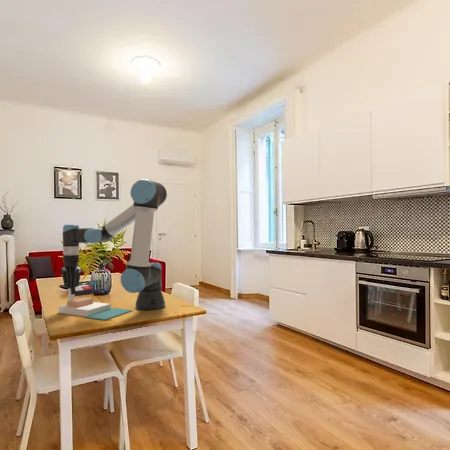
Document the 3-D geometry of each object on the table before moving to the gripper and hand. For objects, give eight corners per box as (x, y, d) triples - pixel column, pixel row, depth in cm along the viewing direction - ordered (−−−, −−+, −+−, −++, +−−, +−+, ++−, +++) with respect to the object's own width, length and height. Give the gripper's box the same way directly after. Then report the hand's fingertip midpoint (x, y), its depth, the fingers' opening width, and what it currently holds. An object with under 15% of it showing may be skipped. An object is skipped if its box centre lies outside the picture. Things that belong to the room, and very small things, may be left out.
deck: (81, 306, 174) (81, 300, 174) (110, 309, 166) (110, 303, 166) (58, 312, 161) (58, 306, 161) (88, 316, 153) (88, 310, 153)
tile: (83, 302, 171) (83, 297, 171) (93, 303, 168) (93, 298, 168) (67, 306, 161) (67, 301, 161) (77, 307, 159) (77, 302, 159)
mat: (113, 308, 167) (113, 307, 167) (132, 311, 163) (132, 310, 163) (85, 317, 151) (85, 316, 151) (105, 320, 146) (105, 319, 146)
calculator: (75, 290, 202) (69, 285, 214) (75, 297, 203) (69, 292, 214) (93, 288, 209) (87, 284, 221) (93, 294, 209) (87, 290, 221)
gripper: (55, 255, 167) (56, 301, 166) (74, 255, 161) (74, 303, 161) (68, 253, 174) (68, 298, 173) (86, 254, 168) (86, 300, 168)
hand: (71, 300), depth 167 cm, fingers closed
